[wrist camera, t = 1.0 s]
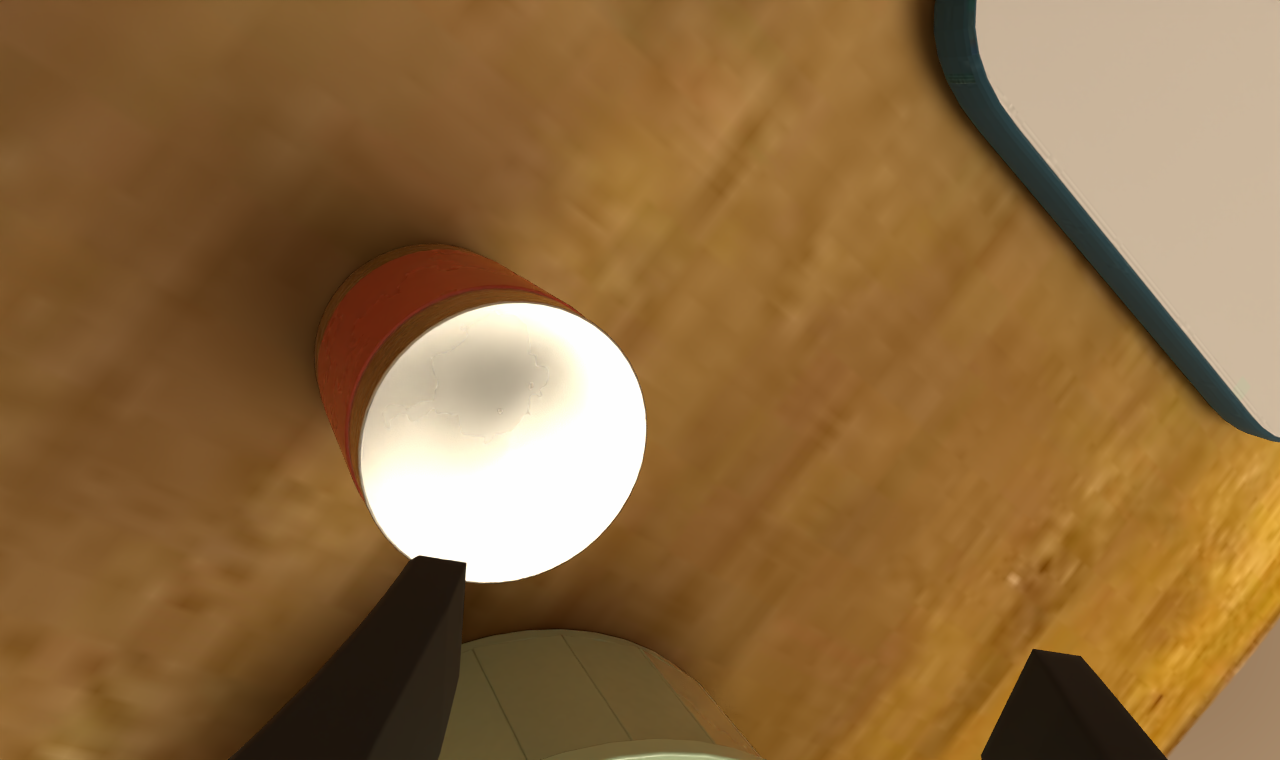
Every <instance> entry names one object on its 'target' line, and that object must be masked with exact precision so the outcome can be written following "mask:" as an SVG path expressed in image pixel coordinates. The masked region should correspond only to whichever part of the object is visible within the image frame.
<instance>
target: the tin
mask: <svg viewBox="0 0 1280 760" xmlns="http://www.w3.org/2000/svg"><path fill="white" fill-rule="evenodd" d="M314 365H315V373H316V379H317V383H318V386H319V389H320V395H321V399H322V402H323V405H324V408H325V411H326V414H327V416H328V419H329V421H330V424H331V426H332V429H333V431H334V434H335V437H336V439H337V442H338V444H339V447H340V449H341V452H342V454H343V457H344V459H345V462H346V464H347V467H348V469H349V472H350V474H351V477H352V479H353V482H354V484H355V486H356V488H357V490H358V492H359V494H360V496H361V498H362V499H363V501H364V502H365V504H366V506H367V508H368V510H369V512H370V514H371V516H372V518H373V520H374V522H375V524H376V525H377V526H378V528H379V529H380V531H381V532H382V534H383V535H384V536H385V538H386V539H387V540H388V541H389V542H390V543H391V544H392V545H393V546H394V547H395V548H396V549H397V550H398V551H399V552H400V553H401V554H403V555H404V556H405V557H407V558H408V559H409V560H411V559H413V558H415V557H416V556H418V555H421V556H428V557H434V558H441V559H448V560H454V561H461V562H467V567H466V582H470V583H479V584H492V583H505V582H513V581H518V580H522V579H526V578H530V577H534V576H537V575H539V574H542V573H544V572H547V571H549V570H552V569H554V568H556V567H558V566H560V565H561V564H563V563H565V562H567V561H569V560H570V559H572V558H573V557H575V556H576V555H578V554H579V553H581V552H582V551H584V550H585V549H586V548H587V547H588V546H590V545H591V544H592V543H593V542H594V541H595V540H597V539H598V538H599V537H600V536H601V534H602V533H603V532H604V531H605V530H606V529H607V528H608V527H609V526H610V525H611V523H612V522H613V521H614V520H615V518H616V517H617V516H618V514H619V513H620V512H621V510H622V508H623V507H624V505H625V503H626V502H627V500H628V498H629V497H630V495H631V492H632V490H633V488H634V486H635V484H636V481H637V479H638V476H639V473H640V470H641V466H642V463H643V459H644V453H645V448H646V438H647V417H646V407H645V402H644V397H643V392H642V389H641V386H640V383H639V380H638V377H637V375H636V373H635V371H634V369H633V367H632V365H631V363H630V361H629V360H628V358H627V357H626V355H625V354H624V353H623V351H622V350H621V348H620V347H619V346H618V345H617V344H616V342H615V341H614V340H613V339H612V338H611V337H610V336H609V335H608V334H607V333H606V332H604V331H603V330H602V329H601V328H599V327H598V326H597V325H596V324H594V323H593V322H591V321H590V320H588V319H586V318H585V317H584V316H583V315H582V314H580V313H579V312H578V311H577V310H575V309H574V308H573V307H571V306H570V305H568V304H566V303H565V302H563V301H561V300H560V299H558V298H556V297H555V296H553V295H551V294H549V293H548V292H546V291H544V290H543V289H541V288H539V287H538V286H536V285H534V284H533V283H531V282H529V281H528V280H526V279H524V278H522V277H521V276H519V275H517V274H516V273H514V272H512V271H511V270H509V269H507V268H506V267H504V266H502V265H500V264H499V263H497V262H495V261H493V260H491V259H488V258H486V257H483V256H481V255H479V254H477V253H474V252H472V251H470V250H467V249H463V248H460V247H456V246H451V245H444V244H418V245H410V246H406V247H402V248H398V249H394V250H392V251H389V252H387V253H384V254H382V255H379V256H378V257H376V258H374V259H372V260H371V261H369V262H367V263H365V264H364V265H363V266H361V267H360V268H359V269H358V270H356V271H355V272H354V273H353V274H352V275H351V276H350V277H348V278H347V279H346V280H345V281H344V282H343V283H342V285H341V286H340V287H339V289H338V290H337V291H336V292H335V294H334V295H333V297H332V298H331V300H330V302H329V303H328V305H327V307H326V309H325V311H324V313H323V316H322V318H321V321H320V323H319V327H318V331H317V335H316V340H315V349H314Z"/></svg>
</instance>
